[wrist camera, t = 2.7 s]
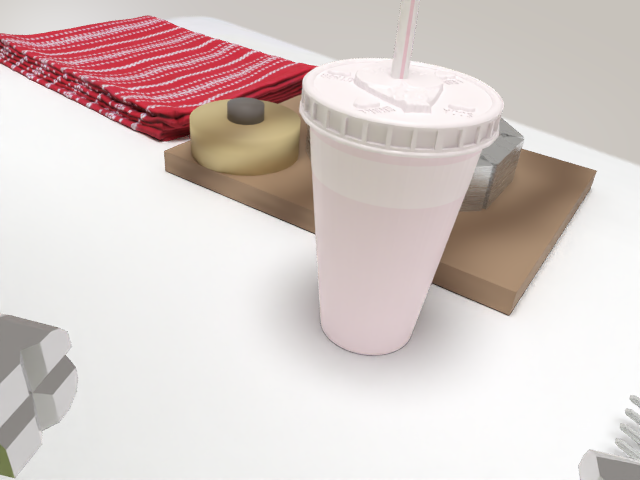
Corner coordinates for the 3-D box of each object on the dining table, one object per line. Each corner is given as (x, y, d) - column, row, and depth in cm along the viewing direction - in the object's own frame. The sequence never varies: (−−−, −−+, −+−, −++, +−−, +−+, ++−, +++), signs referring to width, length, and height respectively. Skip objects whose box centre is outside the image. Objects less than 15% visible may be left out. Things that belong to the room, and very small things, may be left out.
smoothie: (422, 274, 27) (495, -73, 19) (468, 379, 22) (593, -43, 14) (281, 275, 26) (299, -88, 19) (292, 385, 21) (325, -62, 13)
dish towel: (168, 157, 36) (166, 115, 35) (-19, 62, 48) (-27, 28, 47) (340, 96, 48) (343, 63, 47) (154, 32, 60) (152, 4, 58)
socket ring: (271, 166, 32) (272, 122, 31) (370, 113, 40) (375, 76, 39) (460, 237, 28) (471, 189, 26) (530, 161, 36) (542, 121, 34)
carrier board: (165, 170, 34) (160, 102, 31) (314, 103, 44) (318, 49, 42) (509, 315, 25) (535, 234, 23) (590, 188, 36) (613, 125, 34)
